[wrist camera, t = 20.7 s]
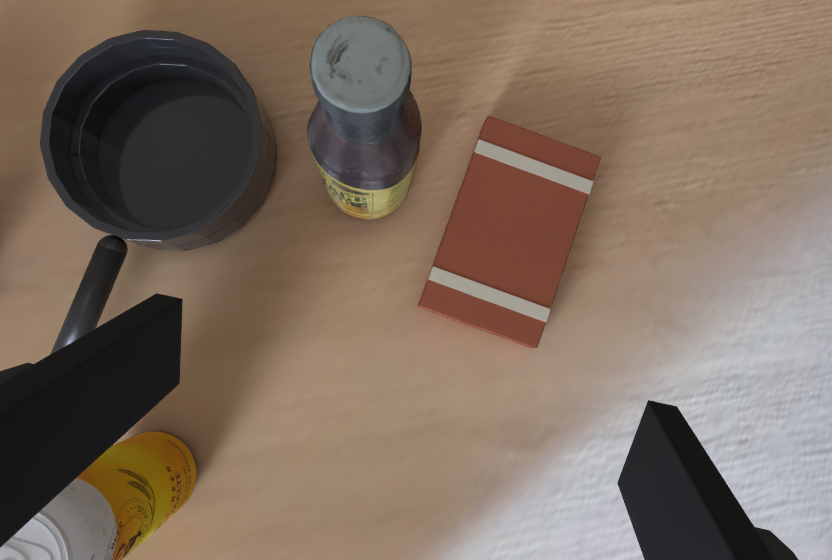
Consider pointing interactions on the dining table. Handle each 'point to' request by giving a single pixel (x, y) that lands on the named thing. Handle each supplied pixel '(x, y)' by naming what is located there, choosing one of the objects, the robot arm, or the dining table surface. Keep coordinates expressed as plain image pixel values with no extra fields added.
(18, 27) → the dining table surface
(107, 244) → the pan handle
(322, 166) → the sauce bottle
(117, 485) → the beer can
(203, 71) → the pan
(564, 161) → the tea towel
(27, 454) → the robot arm
